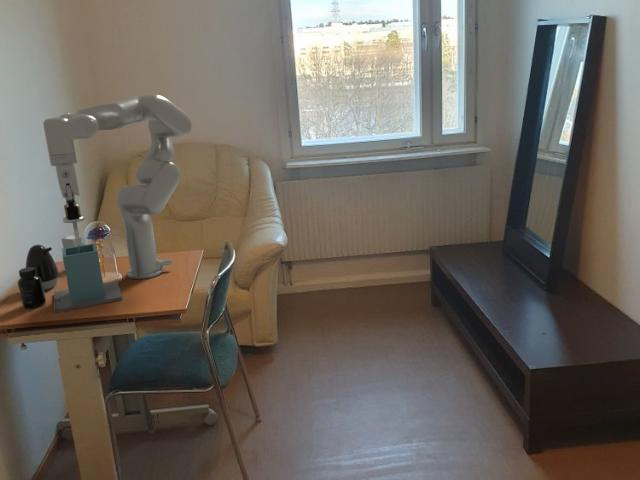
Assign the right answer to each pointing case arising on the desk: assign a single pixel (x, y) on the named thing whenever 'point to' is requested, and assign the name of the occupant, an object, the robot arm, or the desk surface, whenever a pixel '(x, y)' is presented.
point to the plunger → (75, 226)
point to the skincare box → (70, 241)
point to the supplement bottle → (31, 288)
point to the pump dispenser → (43, 265)
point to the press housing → (84, 281)
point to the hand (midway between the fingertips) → (73, 216)
